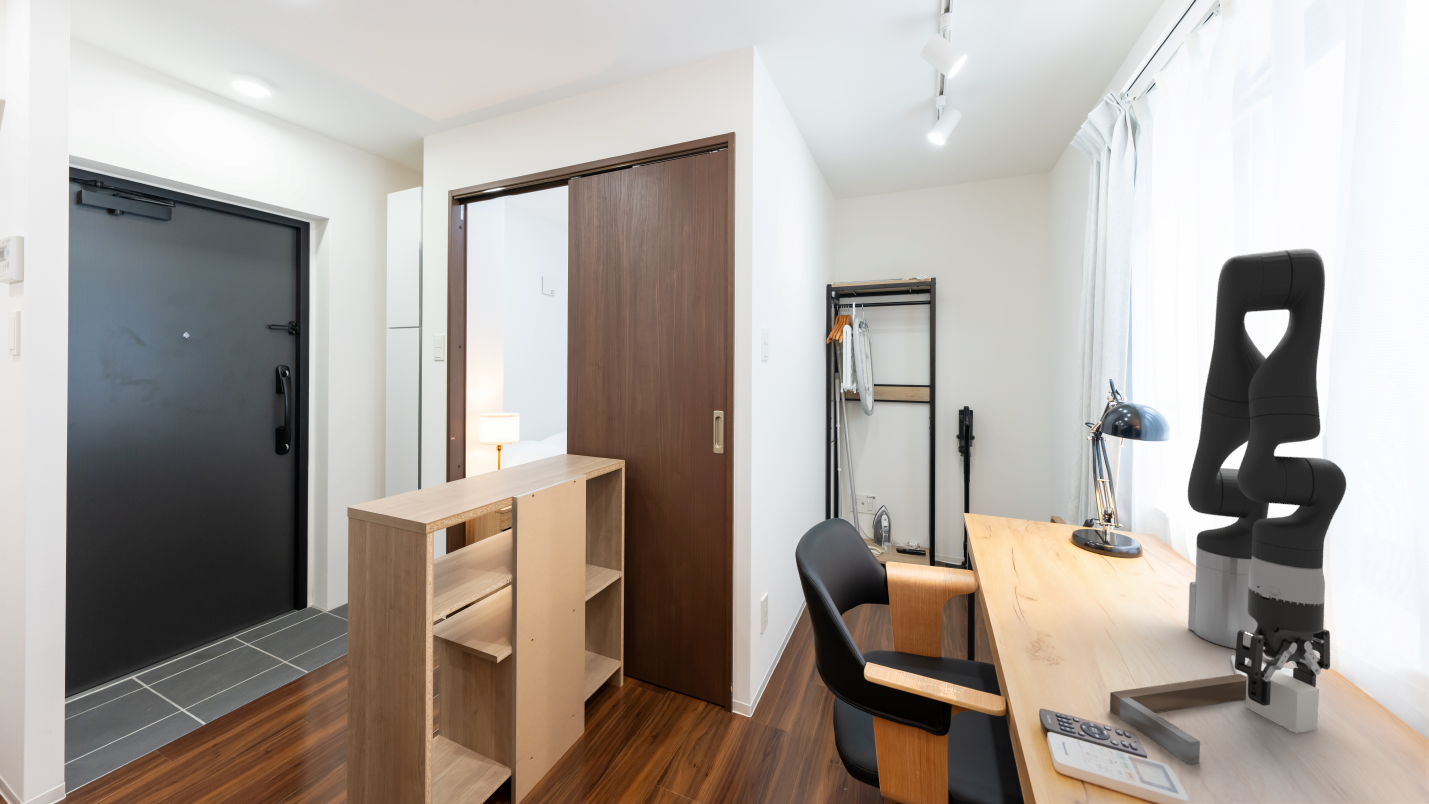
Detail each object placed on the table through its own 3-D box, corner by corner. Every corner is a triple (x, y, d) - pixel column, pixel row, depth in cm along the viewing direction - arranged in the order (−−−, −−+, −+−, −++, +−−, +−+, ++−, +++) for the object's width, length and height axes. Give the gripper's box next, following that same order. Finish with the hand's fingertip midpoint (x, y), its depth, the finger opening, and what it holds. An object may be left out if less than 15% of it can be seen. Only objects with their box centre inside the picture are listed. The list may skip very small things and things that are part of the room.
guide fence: (1109, 711, 78) (1110, 692, 78) (1239, 691, 83) (1240, 673, 83) (1189, 764, 67) (1190, 742, 67) (1333, 738, 72) (1334, 718, 72)
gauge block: (1245, 707, 79) (1246, 669, 79) (1265, 703, 80) (1267, 666, 80) (1295, 733, 73) (1297, 692, 73) (1317, 729, 74) (1319, 689, 74)
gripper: (1289, 578, 81) (1286, 680, 81) (1217, 584, 78) (1214, 689, 79) (1357, 598, 73) (1353, 709, 74) (1279, 605, 71) (1275, 720, 71)
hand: (1281, 699), depth 76 cm, fingers open, 8 cm apart
